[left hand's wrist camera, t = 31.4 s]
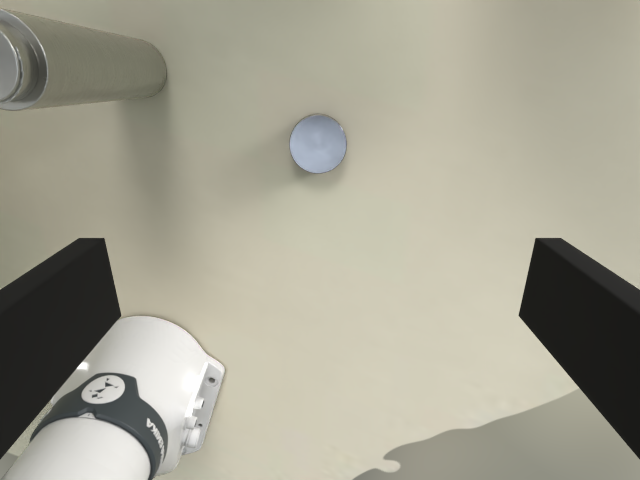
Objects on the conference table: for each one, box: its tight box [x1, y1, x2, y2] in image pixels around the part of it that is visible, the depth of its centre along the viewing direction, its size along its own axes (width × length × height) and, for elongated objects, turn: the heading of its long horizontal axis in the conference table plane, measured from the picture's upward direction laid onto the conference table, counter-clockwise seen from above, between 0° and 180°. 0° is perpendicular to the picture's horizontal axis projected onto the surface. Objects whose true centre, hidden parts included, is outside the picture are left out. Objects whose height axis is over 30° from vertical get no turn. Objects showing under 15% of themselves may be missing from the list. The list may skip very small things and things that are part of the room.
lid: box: [289, 114, 347, 173], centre depth 40 cm, size 6×6×2 cm
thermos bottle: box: [0, 8, 167, 111], centre depth 29 cm, size 5×5×20 cm
